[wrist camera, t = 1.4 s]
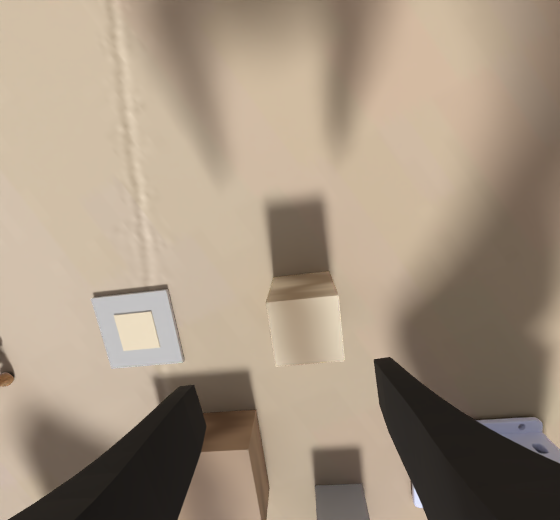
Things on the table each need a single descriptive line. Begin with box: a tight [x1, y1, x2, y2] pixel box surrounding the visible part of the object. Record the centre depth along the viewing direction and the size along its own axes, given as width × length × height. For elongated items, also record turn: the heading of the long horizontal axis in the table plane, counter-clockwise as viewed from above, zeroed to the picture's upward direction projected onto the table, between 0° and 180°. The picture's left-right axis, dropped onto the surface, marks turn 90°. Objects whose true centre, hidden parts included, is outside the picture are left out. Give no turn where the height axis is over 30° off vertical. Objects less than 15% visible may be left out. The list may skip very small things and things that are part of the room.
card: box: [91, 289, 184, 369], centre depth 22 cm, size 6×6×1 cm
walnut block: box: [178, 410, 269, 520], centre depth 23 cm, size 8×8×4 cm
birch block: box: [266, 271, 345, 367], centre depth 18 cm, size 4×4×5 cm
